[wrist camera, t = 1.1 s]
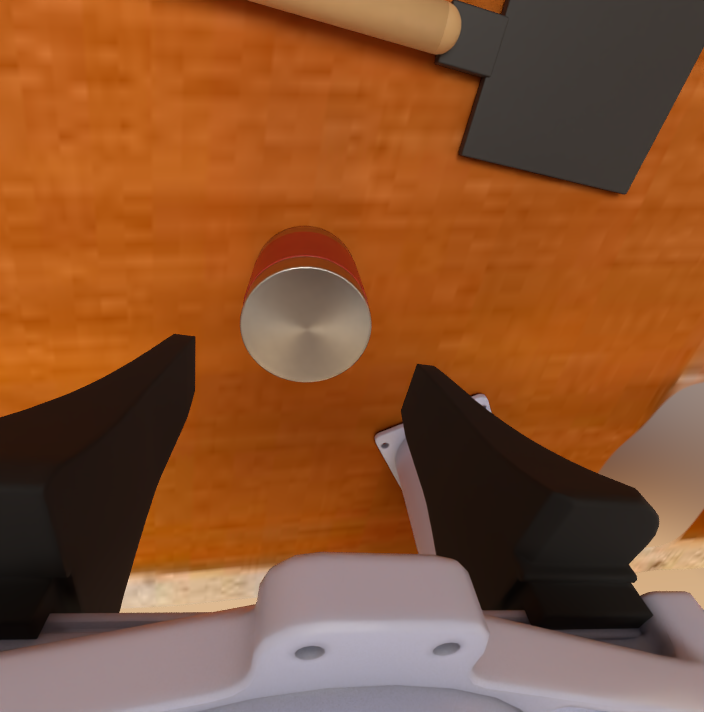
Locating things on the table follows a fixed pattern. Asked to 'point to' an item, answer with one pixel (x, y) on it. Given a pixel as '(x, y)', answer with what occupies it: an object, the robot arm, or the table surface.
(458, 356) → the table surface
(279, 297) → the tin
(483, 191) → the table surface
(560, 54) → the spatula
